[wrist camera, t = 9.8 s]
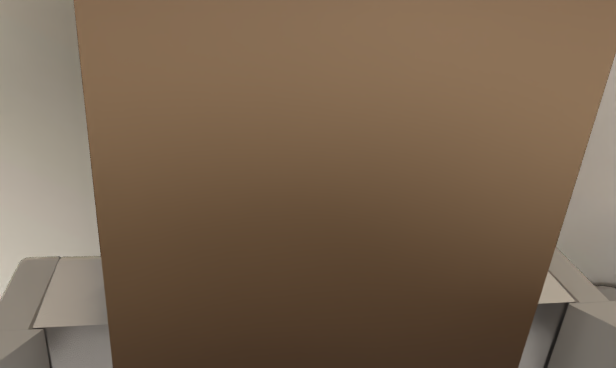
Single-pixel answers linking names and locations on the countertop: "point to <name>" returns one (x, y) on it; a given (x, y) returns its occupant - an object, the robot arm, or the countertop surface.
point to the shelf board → (334, 174)
